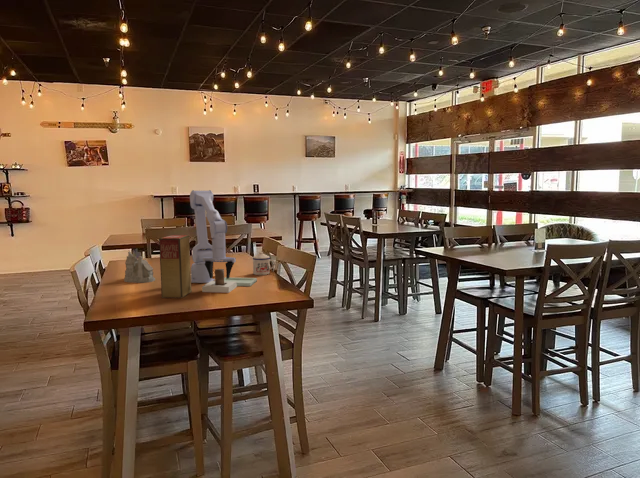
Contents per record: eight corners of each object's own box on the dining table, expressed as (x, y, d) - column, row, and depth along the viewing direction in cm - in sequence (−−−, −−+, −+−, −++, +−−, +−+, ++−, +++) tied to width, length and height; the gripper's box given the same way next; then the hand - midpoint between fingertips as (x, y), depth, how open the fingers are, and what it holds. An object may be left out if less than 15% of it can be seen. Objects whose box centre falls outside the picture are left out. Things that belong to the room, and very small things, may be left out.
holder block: (202, 291, 206) (202, 286, 206) (211, 286, 218) (211, 280, 218) (228, 292, 205) (228, 287, 205) (236, 286, 217) (236, 281, 217)
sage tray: (217, 285, 220) (217, 282, 220) (225, 280, 232) (224, 277, 232) (250, 286, 218) (250, 283, 218) (256, 281, 230) (256, 278, 230)
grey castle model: (144, 283, 224) (144, 251, 223) (117, 282, 229) (116, 251, 228) (165, 279, 238) (164, 249, 238) (138, 278, 244) (138, 249, 243)
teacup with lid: (255, 275, 244) (254, 253, 242) (251, 272, 252) (250, 251, 251) (277, 274, 248) (277, 252, 247) (272, 271, 256) (272, 250, 255)
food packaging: (171, 291, 208) (169, 234, 205) (192, 291, 208) (190, 234, 205) (160, 298, 195) (158, 238, 192) (182, 298, 195) (180, 238, 192)
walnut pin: (214, 290, 210) (213, 270, 209) (217, 288, 214) (216, 268, 213) (222, 290, 209) (222, 270, 208) (225, 288, 213) (225, 268, 212)
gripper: (200, 248, 206) (200, 279, 208) (232, 249, 205) (232, 280, 206) (205, 246, 213) (206, 276, 215) (236, 247, 212) (237, 277, 213)
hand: (219, 278), depth 211 cm, fingers open, 7 cm apart
